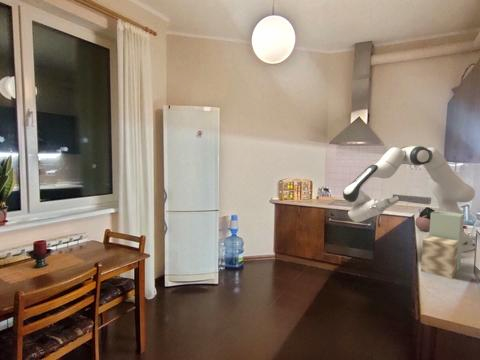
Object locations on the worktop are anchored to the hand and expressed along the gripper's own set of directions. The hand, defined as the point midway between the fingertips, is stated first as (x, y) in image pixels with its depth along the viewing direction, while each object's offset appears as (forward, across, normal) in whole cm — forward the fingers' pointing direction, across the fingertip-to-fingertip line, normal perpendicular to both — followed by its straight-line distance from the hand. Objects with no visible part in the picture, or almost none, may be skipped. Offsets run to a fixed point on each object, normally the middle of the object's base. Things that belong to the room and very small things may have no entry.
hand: (399, 197), depth 159 cm
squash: (-22, +106, +24) cm, 111 cm away
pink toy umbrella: (-20, +79, +26) cm, 85 cm away
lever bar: (+3, 0, +4) cm, 5 cm away
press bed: (+2, -9, +38) cm, 39 cm away
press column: (+2, +3, +38) cm, 38 cm away
